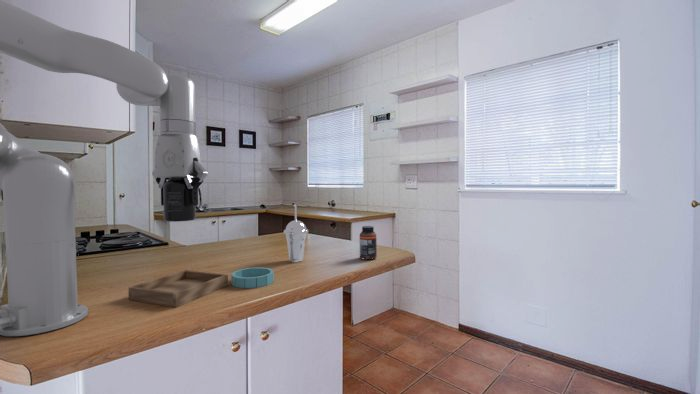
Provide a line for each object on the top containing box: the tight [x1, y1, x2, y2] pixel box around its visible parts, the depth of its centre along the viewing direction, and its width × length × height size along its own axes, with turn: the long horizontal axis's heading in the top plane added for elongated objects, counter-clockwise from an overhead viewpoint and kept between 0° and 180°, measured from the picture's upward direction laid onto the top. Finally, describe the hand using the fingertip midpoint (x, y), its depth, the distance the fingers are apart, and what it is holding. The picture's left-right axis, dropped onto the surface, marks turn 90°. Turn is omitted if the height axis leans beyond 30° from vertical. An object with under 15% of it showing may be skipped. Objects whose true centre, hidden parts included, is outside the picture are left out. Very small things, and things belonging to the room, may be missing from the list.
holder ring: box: [230, 267, 275, 289], centre depth 88 cm, size 11×11×2 cm
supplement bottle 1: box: [162, 177, 197, 222], centre depth 79 cm, size 7×7×12 cm
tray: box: [127, 269, 229, 308], centre depth 79 cm, size 16×14×3 cm
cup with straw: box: [282, 202, 309, 263], centre depth 111 cm, size 8×9×20 cm
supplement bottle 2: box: [359, 225, 378, 259], centre depth 116 cm, size 6×6×11 cm
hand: (179, 204), depth 79 cm, fingers closed on supplement bottle 1, 6 cm apart
